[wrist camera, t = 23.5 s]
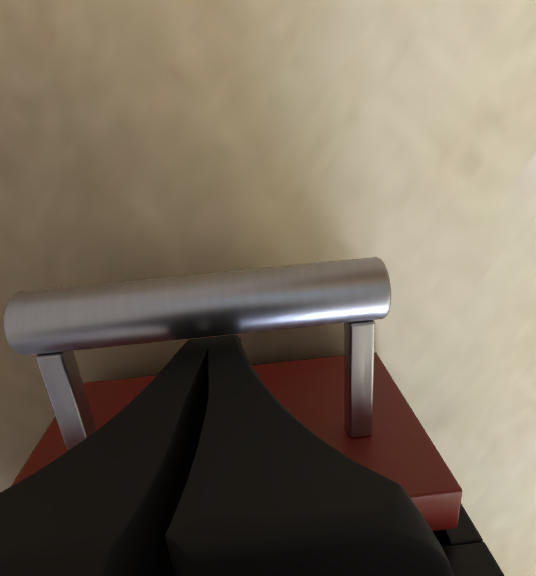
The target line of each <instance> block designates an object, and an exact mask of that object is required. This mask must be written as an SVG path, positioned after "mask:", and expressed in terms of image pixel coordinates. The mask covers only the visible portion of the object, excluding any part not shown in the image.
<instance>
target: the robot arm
mask: <svg viewBox="0 0 536 576" xmlns="http://www.w3.org/2000/svg"><path fill="white" fill-rule="evenodd" d="M0 576H455V575H454V573H453V571H452V569H451V566H450V563H449V561H448V559H447V557H446V555H445V552H444V550H443V548H442V547H441V545H440V543H439V541H438V540H437V538H436V536H435V534H434V533H433V531H432V530H431V528H430V527H429V525H428V523H427V522H426V520H425V519H424V517H423V516H422V514H421V513H420V511H419V510H418V508H417V507H416V505H415V504H414V503H413V501H412V500H411V498H410V497H409V495H408V494H407V493H406V491H405V490H404V488H403V487H402V486H401V485H400V484H398V483H396V482H394V481H392V480H390V479H388V478H386V477H384V476H383V475H381V474H379V473H377V472H375V471H373V470H371V469H369V468H367V467H365V466H363V465H361V464H359V463H357V462H356V461H354V460H352V459H350V458H349V457H347V456H346V455H344V454H343V453H341V452H339V451H338V450H336V449H335V448H333V447H332V446H330V445H329V444H328V443H326V442H325V441H324V440H322V439H321V438H320V437H318V436H317V435H316V434H314V433H313V432H312V431H310V430H309V429H308V428H306V427H305V426H304V425H303V424H302V423H301V422H300V421H299V420H297V419H296V418H295V417H294V416H293V415H292V414H291V413H290V412H289V411H288V410H287V409H286V408H285V407H284V406H283V405H282V404H281V403H280V402H279V401H278V400H277V399H276V397H275V396H274V395H273V394H272V393H271V392H270V390H269V389H268V388H267V387H266V385H265V384H264V383H263V381H262V380H261V379H260V377H259V376H258V374H257V373H256V371H255V370H254V368H253V367H252V365H251V364H250V362H249V360H248V358H247V356H246V354H245V352H244V350H243V348H242V345H241V339H240V338H239V337H238V336H237V335H229V336H219V337H210V338H200V339H190V340H188V341H187V342H186V343H185V344H184V345H183V347H182V348H181V349H180V350H179V351H178V352H177V353H176V355H175V356H174V357H173V358H172V359H171V360H170V362H169V363H168V364H167V365H166V366H165V367H164V368H163V370H162V371H161V372H160V373H159V374H158V375H157V376H156V377H155V378H154V379H153V380H152V381H151V382H150V383H149V384H148V385H147V386H146V387H145V388H144V389H143V390H142V391H141V392H140V393H139V394H138V395H137V396H136V397H135V398H134V399H133V400H132V401H131V402H130V403H129V404H128V405H127V406H126V407H125V408H123V409H122V410H121V411H120V412H119V413H118V414H116V415H115V416H114V417H113V418H112V419H110V420H109V421H108V422H107V423H105V424H104V425H103V426H102V427H100V428H99V429H98V430H97V431H95V432H94V433H93V434H91V435H90V436H89V437H87V438H86V439H84V440H83V441H82V442H80V443H79V444H77V445H76V446H74V447H73V448H71V449H70V450H68V451H67V452H66V453H64V454H63V455H61V456H60V457H58V458H57V459H55V460H54V461H52V462H51V463H50V464H48V465H46V466H45V467H43V468H42V469H40V470H38V471H37V472H35V473H33V474H32V475H30V476H28V477H27V478H25V479H24V480H22V481H20V482H19V483H17V484H15V485H13V486H11V487H10V488H8V489H6V490H4V491H3V492H1V493H0Z"/></svg>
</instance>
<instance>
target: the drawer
mask: <svg viewBox="0 0 536 576" xmlns="http://www.w3.org/2000/svg"><path fill="white" fill-rule="evenodd" d="M390 304H391V286H390V280H389V275H388V272H387V269H386V266H385V264H384V263H383V261H382V260H381V259H380V258H377V257H373V258H362V259H352V260H341V261H331V262H321V263H310V264H300V265H289V266H279V267H268V268H258V269H248V270H237V271H227V272H216V273H206V274H195V275H185V276H175V277H164V278H154V279H143V280H133V281H122V282H112V283H102V284H91V285H81V286H70V287H60V288H49V289H39V290H29V291H19V292H17V293H15V294H13V295H12V296H11V297H10V298H9V300H8V301H7V303H6V306H5V309H4V314H3V328H4V333H5V337H6V340H7V342H8V344H9V346H10V347H11V348H12V349H13V350H14V351H15V352H16V353H18V354H21V355H33V354H38V355H37V356H36V361H37V364H38V367H39V369H40V372H41V375H42V378H43V381H44V384H45V387H46V390H47V393H48V396H49V399H50V402H51V405H52V408H53V411H54V414H55V417H54V419H53V421H52V422H51V424H50V425H49V427H48V428H47V430H46V432H45V433H44V435H43V436H42V438H41V440H40V441H39V443H38V444H37V446H36V447H35V449H34V451H33V452H32V454H31V455H30V457H29V459H28V460H27V462H26V463H25V465H24V467H23V468H22V470H21V471H20V473H19V474H18V476H17V478H16V479H15V481H14V482H13V484H12V486H13V485H15V484H17V483H19V482H20V481H22V480H24V479H25V478H27V477H28V476H30V475H32V474H33V473H35V472H37V471H38V470H40V469H42V468H43V467H45V466H46V465H48V464H50V463H51V462H52V461H54V460H55V459H57V458H58V457H60V456H61V455H63V454H64V453H66V452H67V451H68V450H70V449H71V448H73V447H74V446H76V445H77V444H79V443H80V442H82V441H83V440H84V439H86V438H87V437H89V436H90V435H91V434H93V433H94V432H95V431H97V430H98V429H99V428H100V427H102V426H103V425H104V424H105V423H107V422H108V421H109V420H110V419H112V418H113V417H114V416H115V415H116V414H118V413H119V412H120V411H121V410H122V409H123V408H125V407H126V406H127V405H128V404H129V403H130V402H131V401H132V400H133V399H134V398H135V397H136V396H137V395H138V394H139V393H140V392H141V391H142V390H143V389H144V388H145V387H146V386H147V385H148V384H149V383H150V382H151V381H152V380H153V379H154V378H155V377H156V376H157V375H156V376H147V377H137V378H128V379H118V380H109V381H99V382H90V383H83V381H82V378H81V375H80V371H79V368H78V364H77V361H76V358H75V354H74V351H73V350H82V349H92V348H102V347H112V346H121V345H131V344H141V343H151V342H160V341H170V340H180V339H190V338H199V337H209V336H219V335H229V334H239V333H248V332H258V331H268V330H278V329H287V328H297V327H307V326H317V325H326V324H336V323H344V356H336V357H326V358H317V359H307V360H298V361H288V362H279V363H269V364H260V365H252V367H253V368H254V370H255V371H256V373H257V374H258V376H259V377H260V379H261V380H262V381H263V383H264V384H265V385H266V387H267V388H268V389H269V390H270V392H271V393H272V394H273V395H274V396H275V397H276V399H277V400H278V401H279V402H280V403H281V404H282V405H283V406H284V407H285V408H286V409H287V410H288V411H289V412H290V413H291V414H292V415H293V416H294V417H295V418H296V419H297V420H299V421H300V422H301V423H302V424H303V425H304V426H305V427H306V428H308V429H309V430H310V431H312V432H313V433H314V434H316V435H317V436H318V437H320V438H321V439H322V440H324V441H325V442H326V443H328V444H329V445H330V446H332V447H333V448H335V449H336V450H338V451H339V452H341V453H343V454H344V455H346V456H347V457H349V458H350V459H352V460H354V461H356V462H357V463H359V464H361V465H363V466H365V467H367V468H369V469H371V470H373V471H375V472H377V473H379V474H381V475H383V476H384V477H386V478H388V479H390V480H392V481H394V482H396V483H398V484H400V485H401V486H402V487H403V488H404V490H405V491H406V493H407V494H408V495H409V497H410V498H411V500H412V501H413V503H414V504H415V505H416V507H417V508H418V510H419V511H420V513H421V514H422V516H423V517H424V519H425V520H426V522H427V523H428V525H429V527H430V528H431V530H432V531H438V530H446V529H454V528H457V524H458V518H459V511H460V504H461V497H462V489H461V487H460V486H459V484H458V482H457V481H456V479H455V478H454V476H453V474H452V473H451V471H450V470H449V468H448V467H447V465H446V463H445V462H444V460H443V459H442V457H441V455H440V454H439V452H438V451H437V449H436V447H435V446H434V444H433V443H432V441H431V439H430V438H429V436H428V435H427V433H426V431H425V430H424V428H423V427H422V425H421V423H420V422H419V420H418V419H417V417H416V416H415V414H414V412H413V411H412V409H411V408H410V406H409V404H408V403H407V401H406V400H405V398H404V396H403V395H402V393H401V392H400V390H399V388H398V387H397V385H396V384H395V382H394V380H393V379H392V377H391V376H390V374H389V372H388V371H387V369H386V368H385V366H384V365H383V363H382V361H381V360H380V358H379V357H378V355H377V353H375V352H374V341H375V322H374V321H373V320H375V319H383V318H385V317H386V316H387V315H388V313H389V310H390Z"/></svg>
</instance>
